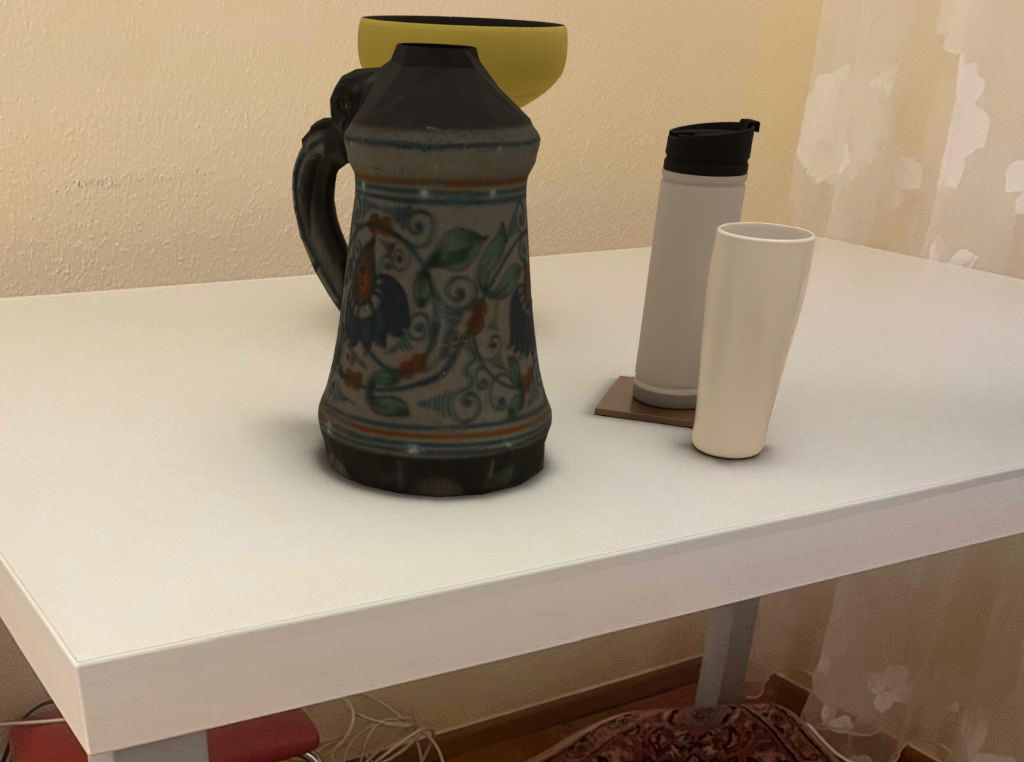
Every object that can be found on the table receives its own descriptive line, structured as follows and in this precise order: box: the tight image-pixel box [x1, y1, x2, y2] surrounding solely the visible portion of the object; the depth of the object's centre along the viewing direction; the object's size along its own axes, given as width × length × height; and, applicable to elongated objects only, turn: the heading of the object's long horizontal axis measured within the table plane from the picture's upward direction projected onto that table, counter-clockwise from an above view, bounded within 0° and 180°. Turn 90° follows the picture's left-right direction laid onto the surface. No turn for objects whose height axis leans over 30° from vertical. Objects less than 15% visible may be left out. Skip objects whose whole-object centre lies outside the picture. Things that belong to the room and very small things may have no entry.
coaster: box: [593, 375, 696, 428], centre depth 98 cm, size 10×10×1 cm
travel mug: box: [632, 118, 761, 410], centre depth 92 cm, size 6×7×20 cm
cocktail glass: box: [357, 14, 569, 109], centre depth 109 cm, size 18×18×25 cm
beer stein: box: [291, 43, 553, 497], centre depth 79 cm, size 16×19×25 cm
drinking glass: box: [691, 221, 817, 459], centre depth 85 cm, size 7×7×15 cm
